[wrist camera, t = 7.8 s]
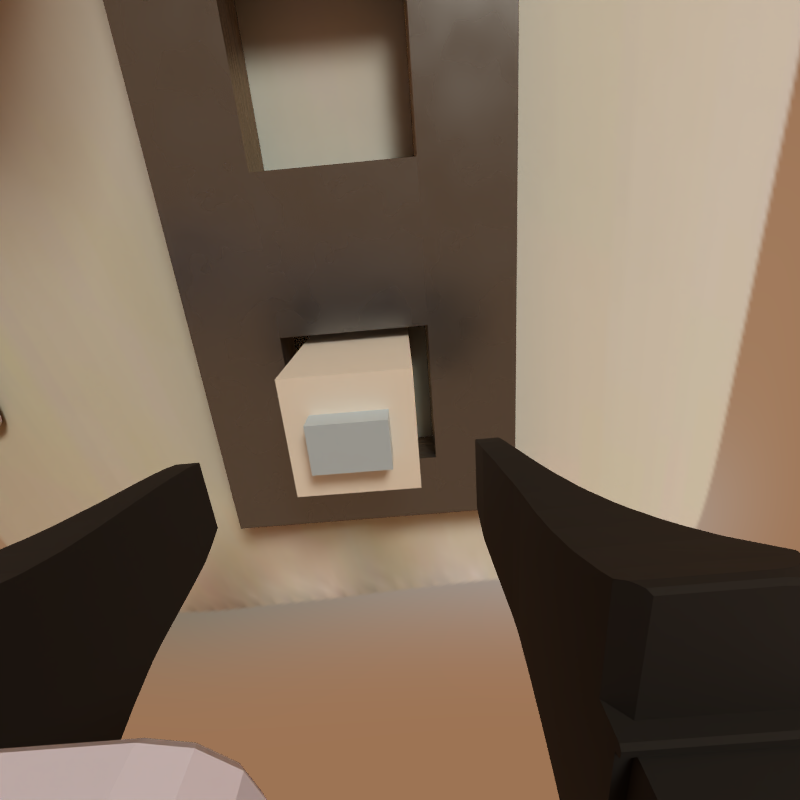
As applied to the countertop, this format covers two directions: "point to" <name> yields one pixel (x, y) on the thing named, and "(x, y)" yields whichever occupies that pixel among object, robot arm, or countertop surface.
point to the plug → (351, 413)
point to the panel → (337, 240)
